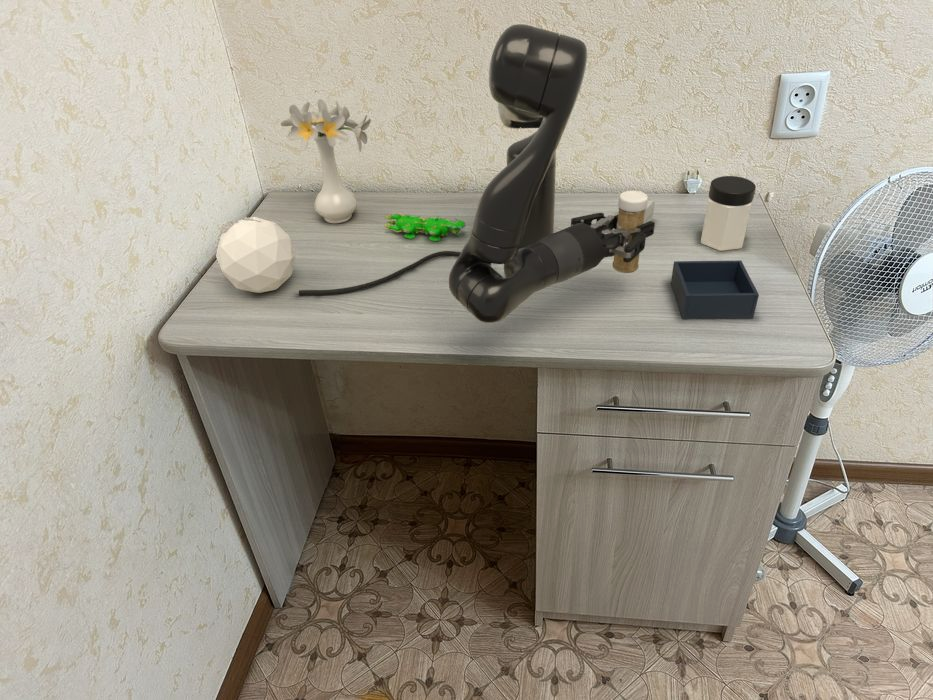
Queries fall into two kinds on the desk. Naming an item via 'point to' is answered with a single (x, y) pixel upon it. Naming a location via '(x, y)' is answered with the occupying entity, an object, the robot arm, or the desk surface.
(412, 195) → the desk surface
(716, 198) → the jar
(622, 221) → the sprinkles bottle
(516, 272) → the robot arm
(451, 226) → the crocodile figurine
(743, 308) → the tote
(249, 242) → the geodesic sphere
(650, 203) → the small box
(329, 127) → the flower vase
